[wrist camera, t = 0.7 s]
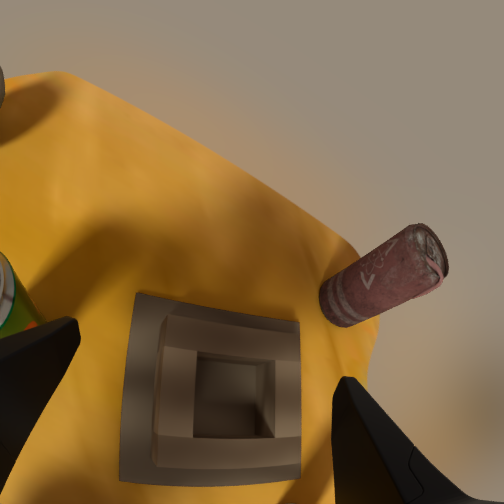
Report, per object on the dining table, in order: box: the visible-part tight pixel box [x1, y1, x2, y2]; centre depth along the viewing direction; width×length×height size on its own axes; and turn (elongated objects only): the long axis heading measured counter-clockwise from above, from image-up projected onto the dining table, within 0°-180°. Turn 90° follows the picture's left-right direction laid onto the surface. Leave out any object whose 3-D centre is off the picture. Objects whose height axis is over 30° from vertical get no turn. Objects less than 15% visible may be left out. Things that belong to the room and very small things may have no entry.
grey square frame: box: [119, 293, 301, 487], centre depth 22 cm, size 16×16×4 cm
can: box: [319, 223, 449, 328], centre depth 29 cm, size 6×6×14 cm
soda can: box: [0, 252, 47, 339], centre depth 14 cm, size 5×5×12 cm
